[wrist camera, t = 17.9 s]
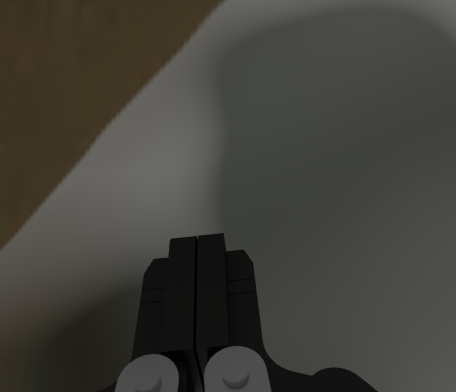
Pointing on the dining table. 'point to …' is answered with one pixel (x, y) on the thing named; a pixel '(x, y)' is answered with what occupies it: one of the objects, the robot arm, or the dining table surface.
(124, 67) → the dining table surface
